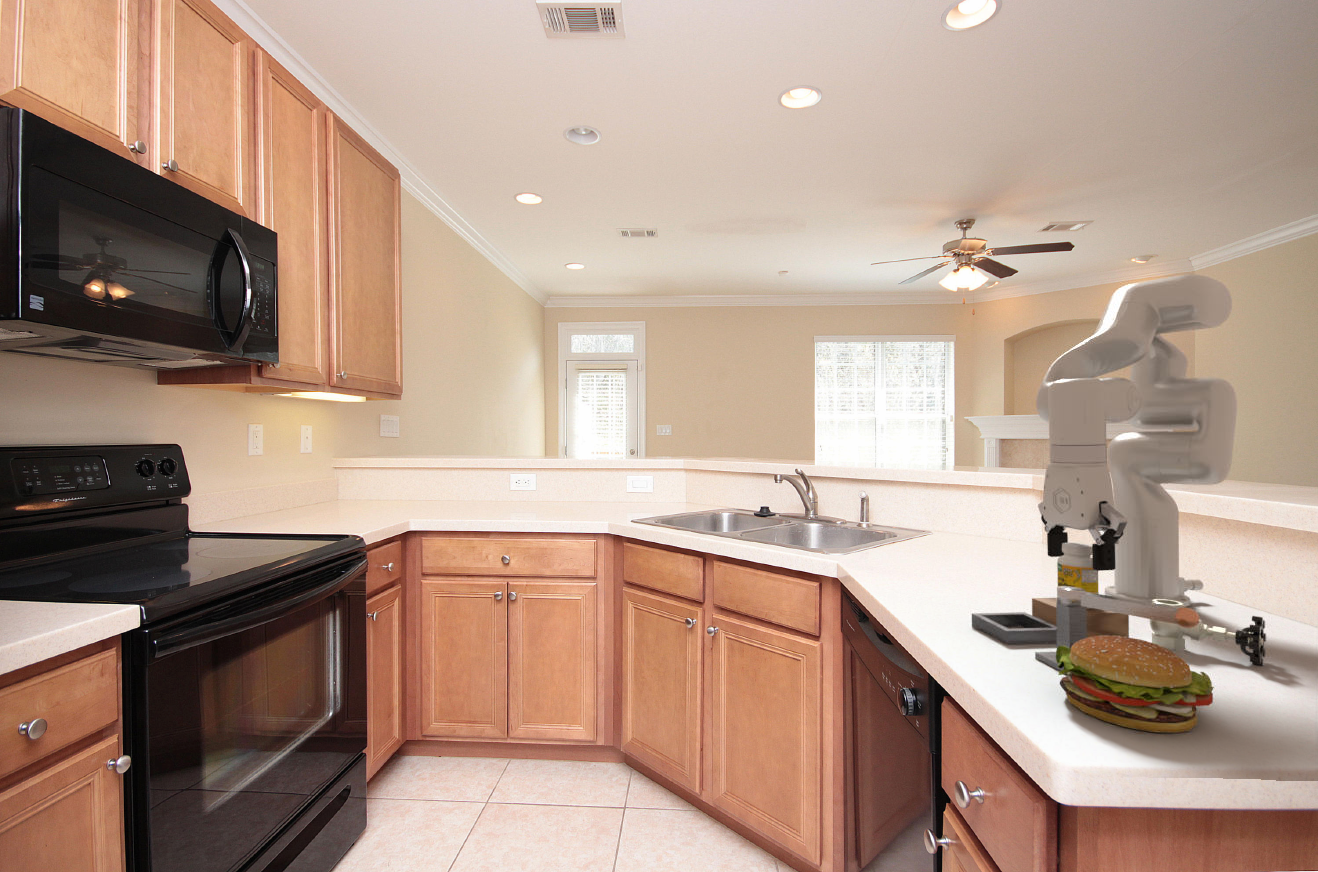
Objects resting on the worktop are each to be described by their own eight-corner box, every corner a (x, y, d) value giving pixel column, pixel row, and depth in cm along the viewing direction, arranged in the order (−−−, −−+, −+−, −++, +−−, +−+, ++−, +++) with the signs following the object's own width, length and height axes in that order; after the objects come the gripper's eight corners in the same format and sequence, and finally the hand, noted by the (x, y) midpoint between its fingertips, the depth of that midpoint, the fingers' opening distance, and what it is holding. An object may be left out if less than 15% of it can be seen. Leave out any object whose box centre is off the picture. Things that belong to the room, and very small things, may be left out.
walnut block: (1083, 620, 101) (1083, 597, 101) (1128, 638, 92) (1128, 612, 92) (1032, 622, 100) (1032, 598, 100) (1072, 640, 91) (1072, 613, 92)
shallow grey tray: (1024, 624, 99) (1024, 612, 99) (1064, 642, 90) (1064, 629, 90) (971, 625, 99) (971, 613, 99) (1006, 644, 90) (1006, 631, 90)
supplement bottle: (1107, 609, 94) (1106, 547, 94) (1073, 609, 94) (1073, 548, 94) (1081, 599, 99) (1081, 541, 99) (1049, 600, 99) (1049, 541, 99)
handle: (1203, 627, 72) (1203, 607, 72) (1195, 632, 70) (1195, 612, 70) (1062, 600, 84) (1062, 583, 84) (1053, 604, 82) (1052, 587, 82)
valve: (1144, 648, 88) (1259, 672, 79) (1143, 603, 88) (1258, 622, 79) (1156, 638, 93) (1266, 660, 83) (1155, 595, 93) (1266, 612, 83)
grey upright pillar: (1076, 656, 85) (1075, 598, 85) (1110, 673, 79) (1110, 610, 79) (1035, 657, 84) (1034, 599, 84) (1066, 674, 78) (1066, 611, 78)
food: (1252, 737, 62) (1252, 659, 62) (1126, 744, 61) (1126, 665, 61) (1135, 683, 76) (1135, 619, 76) (1030, 688, 75) (1030, 623, 75)
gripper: (1019, 454, 105) (1021, 552, 105) (1097, 459, 88) (1100, 577, 88) (1060, 453, 105) (1062, 550, 106) (1146, 458, 88) (1149, 574, 88)
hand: (1079, 562), depth 97 cm, fingers open, 9 cm apart
